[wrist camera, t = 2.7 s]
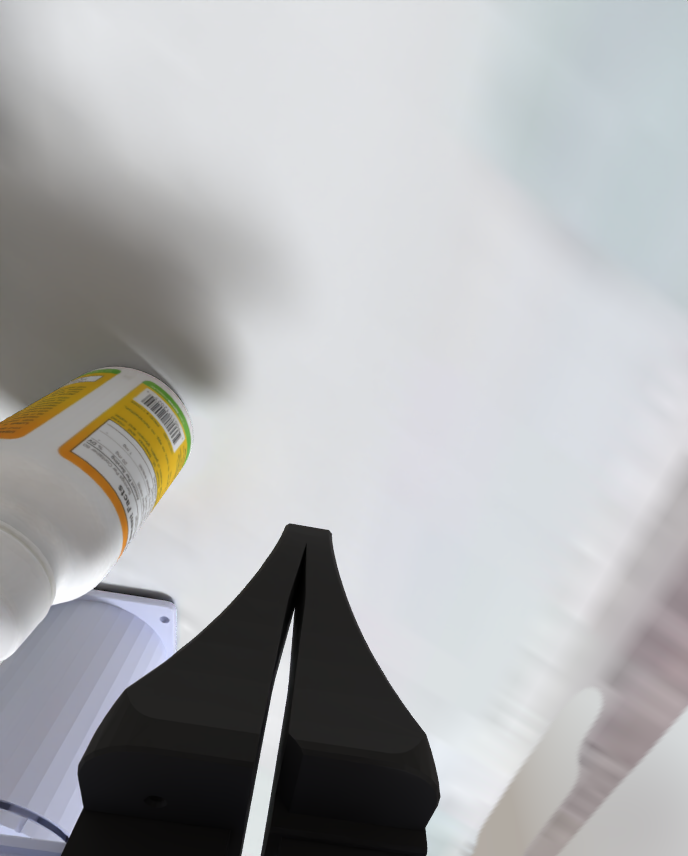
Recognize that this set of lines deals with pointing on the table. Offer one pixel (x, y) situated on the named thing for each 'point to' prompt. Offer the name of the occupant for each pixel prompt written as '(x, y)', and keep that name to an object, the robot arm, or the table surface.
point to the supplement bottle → (80, 487)
